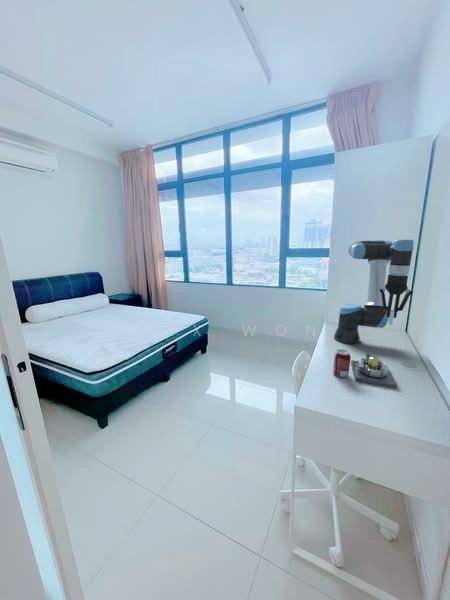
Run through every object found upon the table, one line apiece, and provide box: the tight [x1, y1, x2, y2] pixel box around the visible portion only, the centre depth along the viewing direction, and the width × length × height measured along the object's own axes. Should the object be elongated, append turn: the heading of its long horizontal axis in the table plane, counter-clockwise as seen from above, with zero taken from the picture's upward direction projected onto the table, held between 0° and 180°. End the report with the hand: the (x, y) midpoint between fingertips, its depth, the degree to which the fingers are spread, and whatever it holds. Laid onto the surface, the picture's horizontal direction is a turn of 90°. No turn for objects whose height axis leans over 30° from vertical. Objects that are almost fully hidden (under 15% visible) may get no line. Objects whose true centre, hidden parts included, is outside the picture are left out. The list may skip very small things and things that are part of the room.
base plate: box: [350, 355, 398, 389], centre depth 117 cm, size 18×16×9 cm
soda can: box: [332, 348, 351, 378], centre depth 117 cm, size 7×7×12 cm
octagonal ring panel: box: [358, 353, 390, 377], centre depth 120 cm, size 19×12×4 cm, turn 159°
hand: (390, 323), depth 117 cm, fingers closed
